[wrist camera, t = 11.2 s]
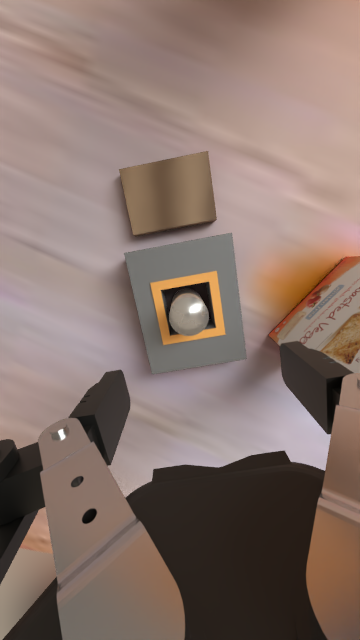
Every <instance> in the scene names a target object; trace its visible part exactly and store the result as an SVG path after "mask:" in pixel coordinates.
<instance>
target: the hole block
mask: <svg viewBox="0 0 360 640" xmlns="http://www.w3.org/2000/svg"><path fill="white" fill-rule="evenodd" d="M124 255H125V259H126V264H127V268H128V272H129V277H130V281H131V285H132V290H133V294H134V298H135V303H136V307H137V311H138V316H139V320H140V324H141V329H142V333H143V337H144V342H145V346H146V350H147V354H148V359H149V363H150V367H151V372H152V374H158V373H164V372H170V371H177V370H183V369H189V368H195V367H201V366H207V365H213V364H219V363H226V362H232V361H238V360H244V359H247V358H246V349H245V341H244V332H243V324H242V315H241V306H240V298H239V289H238V280H237V272H236V263H235V255H234V246H233V237H232V233H228V234H223V235H217V236H212V237H207V238H202V239H196V240H191V241H186V242H180V243H175V244H170V245H165V246H159V247H154V248H149V249H144V250H138V251H133V252H128V253H124ZM203 282H206V286H207V293H208V300H209V306H210V313H211V320H208V324H207V326H206V327H205V329H204V330H203V331H202V332H200V333H199V334H196V335H193V336H184V335H181V334H179V333H177V332H176V331H175V330H174V329H173V328H172V326H171V324H170V321H169V312H168V307H167V302H166V297H165V292H164V289H170V288H175V287H181V286H186V285H192V284H197V283H203Z"/></svg>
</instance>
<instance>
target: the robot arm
mask: <svg viewBox="0 0 360 640" xmlns="http://www.w3.org/2000/svg"><path fill="white" fill-rule="evenodd" d="M280 357H281V370H282V377H283V380H284V382H285V384H286V386H287V387H288V388H289V389H290V390H291V392H292V393H293V394H294V395H295V396H296V398H297V399H298V400H299V401H300V402H301V403H302V405H303V406H304V407H305V408H306V409H307V411H308V412H309V413H310V414H311V415H312V417H313V418H314V419H315V420H316V421H317V423H318V424H319V425H320V426H321V427H322V428H323V430H324V431H325V432H326V433H327V434H331V439H330V445H329V451H328V458H327V464H326V470H325V471H324V470H321V469H319V468H316V467H313V466H310V465H306V464H302V463H296V462H290V460H289V458H288V456H287V454H286V452H285V451H278V452H271V453H264V454H257V455H251V456H248V457H246V458H243V459H241V460H238V461H236V462H233V463H231V464H228V465H226V466H223V467H219V468H216V467H205V466H194V465H180V466H173V467H166V468H159V469H154V470H153V478H152V481H151V482H149V483H147V484H145V485H143V486H141V487H139V488H138V489H136V490H135V491H133V492H132V493H131V494H130V495H128V496H127V497H126V498H125V497H124V495H123V493H122V491H121V490H120V488H119V486H118V484H117V483H116V481H115V479H114V477H113V475H112V474H111V472H110V470H109V468H108V465H111V463H112V460H113V457H114V454H115V451H116V448H117V445H118V442H119V439H120V436H121V433H122V431H123V428H124V425H125V422H126V419H127V416H128V413H129V410H130V396H129V393H128V389H127V385H126V381H125V378H124V374H123V372H122V370H116V371H110V372H106V373H105V374H104V376H103V377H102V379H101V380H100V382H99V383H96V384H95V385H94V386H92V387H91V388H90V389H89V390H88V391H87V392H86V394H85V395H84V397H83V398H82V399H81V401H80V403H79V404H78V405H77V406H76V408H75V409H74V411H73V412H72V413H71V415H70V416H69V418H67V419H63V420H60V421H58V422H56V423H54V424H52V425H51V426H49V427H48V428H47V429H46V430H44V431H43V432H42V434H41V435H40V437H39V439H38V442H37V443H34V444H32V445H29V446H26V447H23V448H21V449H18V450H17V448H16V445H15V443H14V441H13V440H10V439H6V440H1V441H0V584H1V582H2V580H3V578H4V576H5V574H6V572H7V571H8V569H9V567H10V565H11V563H12V561H13V559H14V557H15V555H16V553H17V551H18V549H19V547H20V545H21V544H22V542H23V540H24V538H25V536H26V534H27V532H28V530H29V528H30V526H31V524H32V522H33V520H34V518H35V516H36V515H37V513H38V510H39V509H41V508H43V507H46V513H47V519H48V525H49V531H50V537H51V544H52V550H53V556H54V561H55V568H56V574H57V577H56V578H55V579H54V580H53V582H52V583H51V584H50V585H49V586H48V587H47V589H46V590H45V591H44V592H43V593H42V595H41V596H40V597H39V598H38V599H37V600H36V601H35V603H34V604H33V605H32V606H31V607H30V608H29V609H28V611H27V612H26V613H25V614H24V615H23V617H22V618H21V619H20V620H19V621H18V622H17V623H16V625H15V626H14V627H13V628H12V629H11V630H10V632H9V633H8V634H7V635H6V636H5V637H4V639H3V640H360V373H353V372H352V371H350V370H349V369H347V368H346V367H344V366H343V365H341V364H340V363H338V362H336V361H335V360H334V359H332V358H330V357H329V356H327V355H326V354H324V353H323V352H320V351H317V350H314V349H309V348H307V347H306V346H304V345H303V344H302V343H300V342H299V341H293V342H287V343H281V345H280Z"/></svg>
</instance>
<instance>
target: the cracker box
mask: <svg viewBox="0 0 360 640" xmlns="http://www.w3.org/2000/svg"><path fill="white" fill-rule="evenodd" d="M269 337H271V338H272V339H273V340H274V341H275V342H276V343H277V344H278V345H279V346H280V345H281V343H287V342H293V341H299V342H300V343H302V344H303V345H304V346H306V347H307V348H309V349H314V350H317V351H320V352H323V353H324V354H326V355H327V356H329V357H330V358H332V359H334V360H335V361H336V362H338V363H340V364H341V365H343V366H344V367H346V368H347V369H349V370H350V371H352V372H353V373H360V256H355V257H345V258H344V259H343V260H342V261H341V262H340V263H339V264H338V266H337V267H335V268H334V270H333V271H332V272H330V273H329V274H328V275H327V276H326V277H325V279H324V280H323V281H322V282H321V283H320V284H319V285H318V286H317V287H316V288H315V289H314V290H313V291H312V292H311V293H310V294H309V295H308V296H307V297H306V298H305V299H304V300H303V301H302V302H301V303H300V304H299V305H298V306H297V307H296V308H295V309H294V310H293V311H292V312H291V313H290V314H289V315H288V316H287V317H286V318H285V319H284V320H283V321H282V322H281V323H280V324H279V325H278V326H277V327H276V328H275V329H274V330H273V331H272V332H271V333H270V334H269Z"/></svg>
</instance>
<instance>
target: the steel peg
mask: <svg viewBox="0 0 360 640" xmlns="http://www.w3.org/2000/svg"><path fill="white" fill-rule="evenodd" d="M208 320H209V313H208V310H207V308H206V306H205V304H204V302H203V300H202V298H201V297H200V295H199V294H198V292H196V291H195V290H193V289H190V288H184V289H181V290H179V291H178V292H177V293H176V294H175V295H174V297H173V300H172V304H171V308H170V313H169V321H170V324H171V326H172V328H173V329H174V330H175V331H176V332H177V333H179V334H181V335H184V336H193V335H196V334H199V333H200V332H202V331H203V330H204V329H205V327H206V326H207V324H208Z"/></svg>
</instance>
